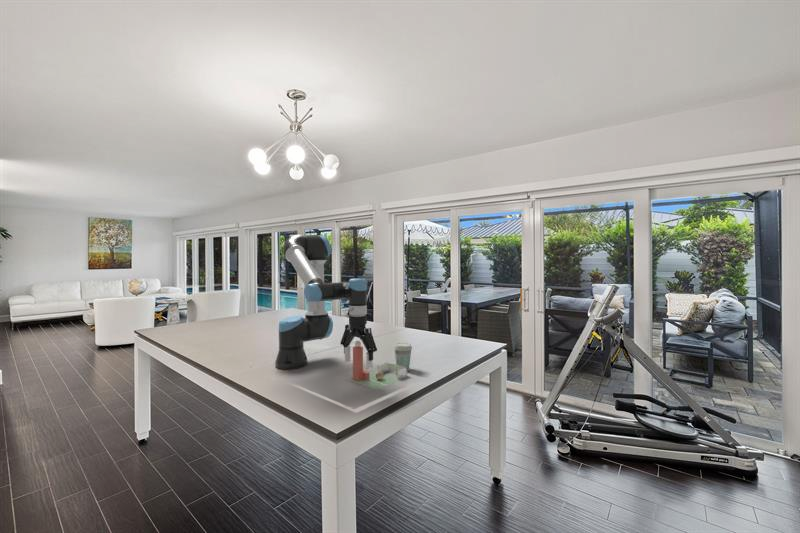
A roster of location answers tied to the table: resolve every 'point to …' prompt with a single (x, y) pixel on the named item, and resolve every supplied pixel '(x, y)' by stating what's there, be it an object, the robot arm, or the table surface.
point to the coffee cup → (403, 354)
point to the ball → (379, 375)
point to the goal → (393, 369)
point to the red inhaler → (358, 363)
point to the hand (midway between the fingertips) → (358, 364)
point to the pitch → (375, 381)
